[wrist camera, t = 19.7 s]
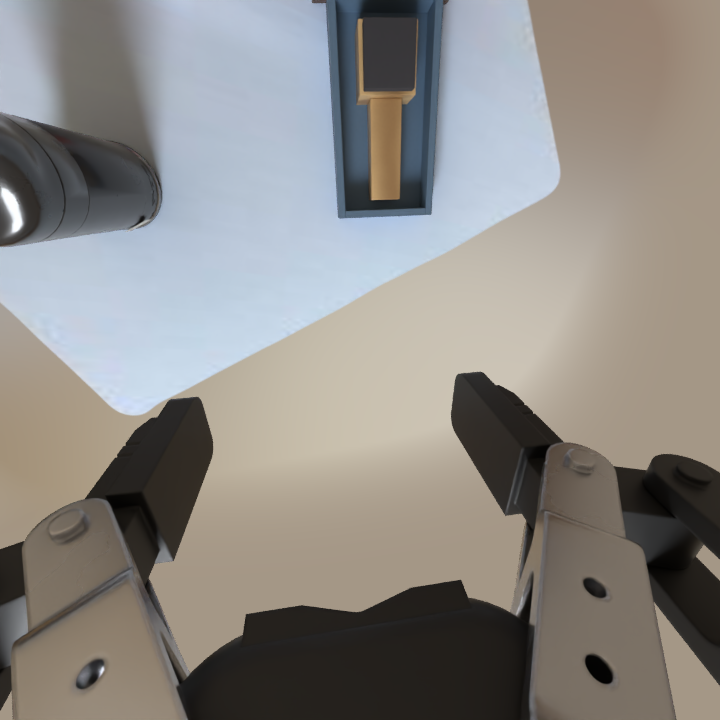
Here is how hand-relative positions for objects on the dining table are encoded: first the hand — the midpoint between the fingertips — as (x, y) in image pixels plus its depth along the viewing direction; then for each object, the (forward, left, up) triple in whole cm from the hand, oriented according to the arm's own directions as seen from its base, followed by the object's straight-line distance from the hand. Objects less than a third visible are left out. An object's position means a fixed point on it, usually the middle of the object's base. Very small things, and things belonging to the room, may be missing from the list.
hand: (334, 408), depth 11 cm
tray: (+8, +14, -39) cm, 43 cm away
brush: (+8, +14, -39) cm, 42 cm away
